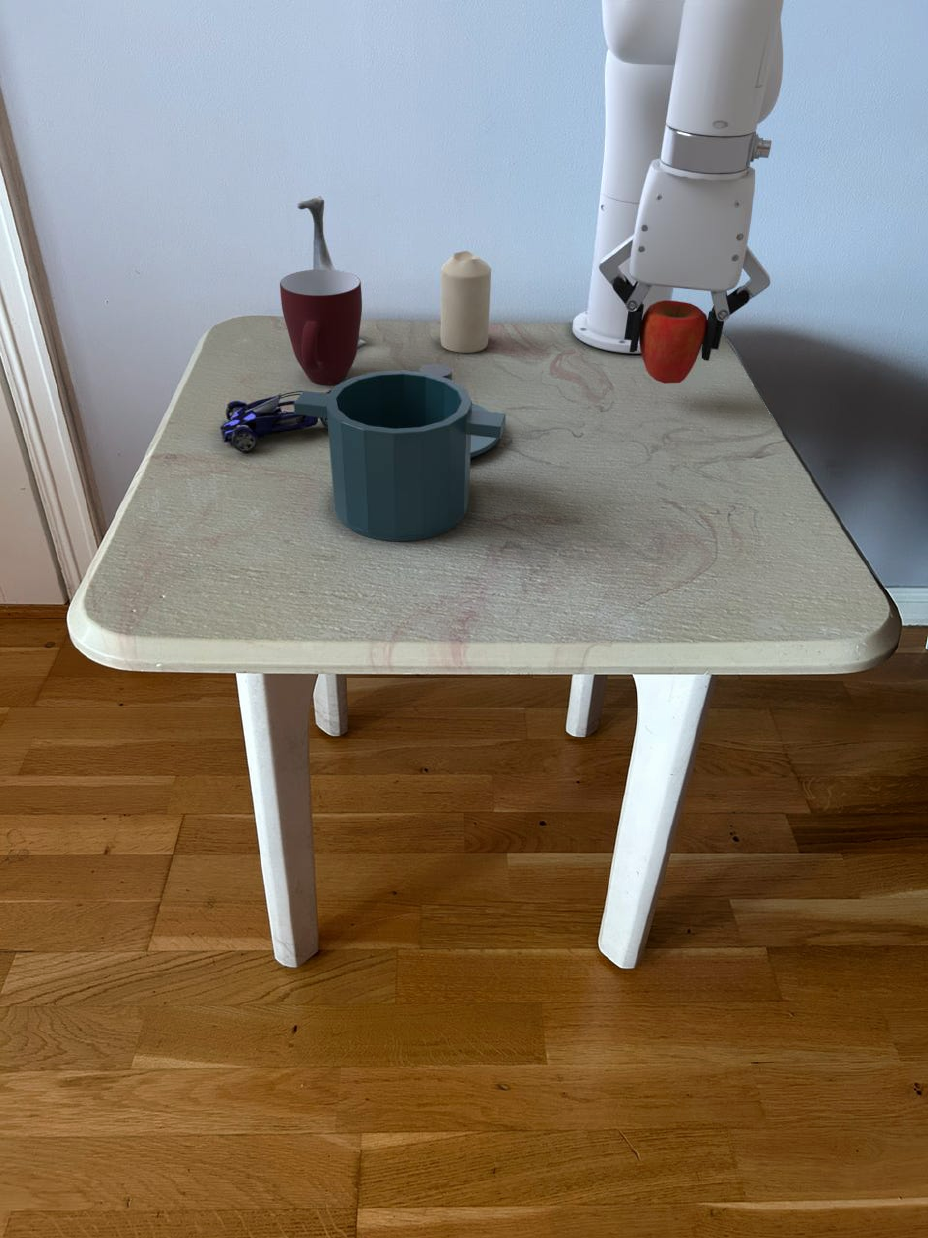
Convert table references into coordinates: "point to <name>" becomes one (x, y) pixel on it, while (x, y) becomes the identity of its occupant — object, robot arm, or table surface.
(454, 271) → the candle
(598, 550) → the table surface
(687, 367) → the apple
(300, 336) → the mug
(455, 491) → the pot
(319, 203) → the figurine
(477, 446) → the lid
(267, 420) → the toy car
